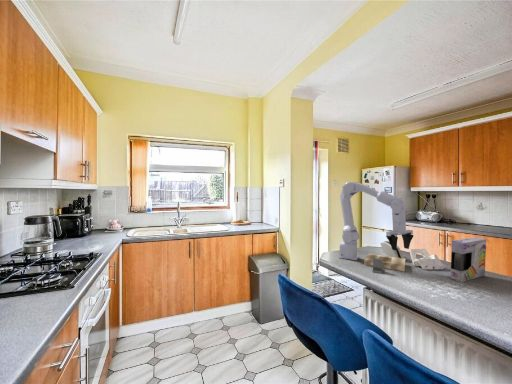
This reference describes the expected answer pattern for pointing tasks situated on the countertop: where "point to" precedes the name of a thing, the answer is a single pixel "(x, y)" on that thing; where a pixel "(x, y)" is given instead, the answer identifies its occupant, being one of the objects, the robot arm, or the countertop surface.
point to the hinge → (388, 250)
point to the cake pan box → (468, 258)
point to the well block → (387, 262)
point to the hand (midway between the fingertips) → (400, 249)
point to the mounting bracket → (424, 262)
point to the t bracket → (377, 265)
